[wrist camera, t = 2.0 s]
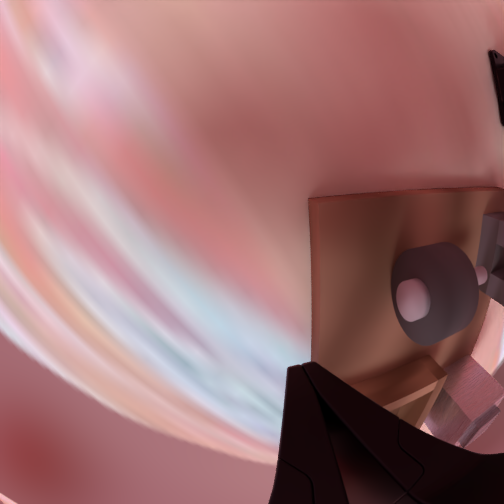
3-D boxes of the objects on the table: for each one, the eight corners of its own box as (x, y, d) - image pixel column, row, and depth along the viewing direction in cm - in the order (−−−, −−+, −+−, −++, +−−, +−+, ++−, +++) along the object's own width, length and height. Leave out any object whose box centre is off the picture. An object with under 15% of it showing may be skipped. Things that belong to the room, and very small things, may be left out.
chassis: (497, 187, 14) (555, 205, 8) (441, 396, 21) (467, 429, 16) (308, 198, 12) (380, 234, 7) (305, 452, 20) (323, 501, 14)
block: (468, 354, 18) (512, 397, 11) (451, 390, 19) (486, 431, 13) (432, 375, 17) (477, 428, 11) (415, 410, 19) (450, 459, 12)
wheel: (460, 224, 12) (518, 250, 8) (449, 293, 14) (496, 327, 10) (385, 237, 12) (451, 275, 7) (377, 317, 13) (424, 369, 9)
